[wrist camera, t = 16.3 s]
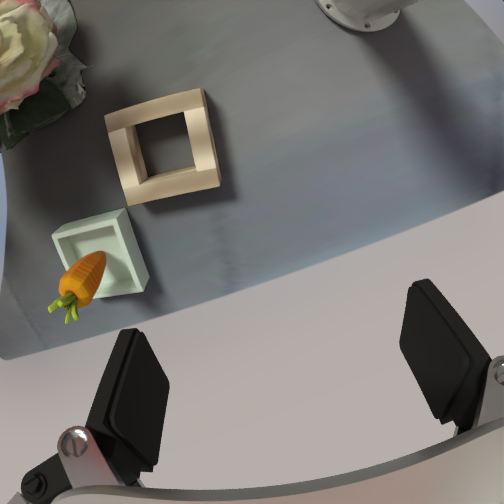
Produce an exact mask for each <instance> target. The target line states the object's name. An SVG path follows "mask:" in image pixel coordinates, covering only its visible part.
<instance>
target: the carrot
mask: <svg viewBox="0 0 504 504" xmlns="http://www.w3.org/2000/svg"><path fill="white" fill-rule="evenodd" d="M106 261H107V259H106V254H105V252H104V251H96V252H93V253H90V254H87V255H86V256H84V257H82V258H81V259H79V260H78V261H77V262H75V263H74V264H73V265H72V266H71V267H70V268H69V269H68V271H67V272H66V273H65V274H64V275H63V276H62V278H61V280H60V286H59V292H60V294H61V296H62V297H61V298H59V299H56V300H55V301H54V303H52V304H51V305H50V306H49V307H48V311H49V312H50V313H51V312H53V311H54V310H55V309H57V308H58V307H59V306H60V307H62V306H64V310H67V309H68V311H67V314H66V319H65V323H66V324H68V323H69V322H70V315H71V312H72V316H73V318H74V320H75V321H76V320H78V319H79V316H78V310H77V308H80V307H84V306H87V305H89V304H90V302H91V300H92V299H93V297H94V295H95V293H96V291H97V290H98V288H99V286H100V283H101V280H102V277H103V274H104V271H105V267H106ZM68 307H69V308H68Z"/></svg>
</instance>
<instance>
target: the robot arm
mask: <svg viewBox="0 0 504 504" xmlns="http://www.w3.org/2000/svg"><path fill="white" fill-rule="evenodd" d="M419 1H422V0H316V2H317V4H318V5H319V7H320V8H321V9H322V11H323V12H324V13H325V14H326V15H327V16H328V17H330V18H331V19H332V20H334V21H335V22H337V23H338V24H340V25H342V26H344V27H346V28H349V29H351V30H355V31H359V32H376V31H379V30H382V29H385V28H387V27H389V26H390V25H391V24H393V23H394V22H395V20H396V19H397V18H398V16H399V13H400V9H402V8H404V7H407V6H409V5H412V4H414V3H417V2H419ZM503 1H504V0H503ZM326 7H328V8H329V9H327V8H326ZM364 25H365V26H366V27H365V26H364ZM399 343H400V349H401V351H402V353H403V355H404V357H405V359H406V361H407V363H408V365H409V366H410V368H411V370H412V372H413V374H414V376H415V378H416V380H417V382H418V384H419V386H420V388H421V391H422V392H423V395H424V397H425V399H426V401H427V403H428V405H429V407H430V409H431V411H432V414H433V416H434V417H435V418H436V419H439V420H440V422H441V424H442V425H443V424H445V423H448V422H450V421H452V420H453V421H454V423H455V425H456V428H455V432H454V435H453V438H450V439H448V440H446V441H444V442H441V443H438V444H436V445H433V446H431V447H428V448H426V449H423V450H420V451H418V452H415V453H412V454H409V455H406V456H404V457H401V458H398V459H395V460H392V461H388V462H385V463H382V464H378V465H375V466H372V467H368V468H365V469H361V470H357V471H353V472H349V473H345V474H340V475H335V476H331V477H326V478H321V479H316V480H310V481H304V482H298V483H291V484H284V485H276V486H267V487H257V488H244V489H226V490H180V489H157V488H156V489H155V488H146V487H145V486H144V484H143V483H142V482H141V480H140V479H139V478H140V472H153V466H154V465H156V464H157V463H158V458H159V451H160V444H161V437H162V431H163V424H164V418H165V412H166V406H167V400H168V394H169V388H170V387H169V381H168V378H167V376H166V375H165V373H164V371H163V370H162V367H161V365H160V364H159V362H158V360H157V358H156V356H155V354H154V352H153V350H152V348H151V346H150V344H149V342H148V341H147V338H146V336H145V335H144V333H143V332H140V331H139V330H138V329H137V328H132V329H123V330H121V331H120V333H119V335H118V338H117V340H116V343H115V345H114V348H113V350H112V353H111V355H110V358H109V361H108V363H107V366H106V369H105V371H104V373H103V376H102V379H101V382H100V384H99V387H98V390H97V393H96V396H95V398H94V401H93V404H92V407H91V410H90V413H89V416H88V419H87V422H86V425H85V427H81V426H74V427H71V428H68V429H67V430H66V431H65V432H63V434H62V435H61V436H60V438H59V440H58V445H57V449H58V453H57V454H55V455H54V456H52V457H51V458H49V459H47V460H46V461H44V462H43V463H41V464H40V465H38V466H37V467H35V468H33V469H32V470H30V471H29V472H28V473H26V474H25V476H24V477H23V479H22V483H21V491H22V493H21V494H20V493H19V492H17V493H16V494H15V495H14V497H13V498H12V499H11V500H10V501H9V503H8V504H504V356H498V357H496V358H494V359H493V360H492V359H491V358H490V356H489V354H488V353H487V352H486V350H485V349H484V347H483V346H482V345H481V343H480V342H479V341H478V339H477V338H476V337H475V335H474V334H473V332H472V331H471V330H470V328H469V327H468V326H467V325H466V323H465V322H464V321H463V320H462V318H461V317H460V316H459V314H458V313H457V312H456V311H455V309H454V308H453V307H452V306H451V304H450V303H449V302H448V301H447V300H446V298H445V297H444V296H443V295H442V293H441V292H440V291H439V290H438V289H437V287H436V286H435V285H434V284H433V283H432V282H431V280H429V279H423V280H419V281H415V282H414V283H413V284H412V286H411V287H409V289H408V294H407V301H406V307H405V314H404V319H403V325H402V330H401V336H400V341H399Z"/></svg>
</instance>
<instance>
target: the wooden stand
mask: <svg viewBox="0 0 504 504" xmlns="http://www.w3.org/2000/svg"><path fill="white" fill-rule="evenodd" d="M180 112H184V115H185V119H186V124H187V129H188V133H189V138H190V143H191V147H192V152H193V156H194V161H195V165H196V166H193V167H189V168H184V169H180V170H175V171H171V172H166V173H162V174H158V175H154V176H150V177H148V175H147V172H146V168H145V164H144V160H143V156H142V152H141V148H140V144H139V140H138V135H137V131H136V127H135V125H136V124H139V123H143V122H146V121H150V120H153V119H157V118H161V117H164V116H168V115H172V114H176V113H180ZM104 118H105V123H106V127H107V131H108V135H109V139H110V143H111V147H112V151H113V155H114V159H115V163H116V166H117V170H118V174H119V177H120V181H121V184H122V188H123V191H124V194H125V198H126V201H127V204H128V206H131V205H135V204H139V203H143V202H148V201H152V200H156V199H161V198H165V197H170V196H174V195H179V194H184V193H189V192H194V191H198V190H203V189H209V188H214V187H219V186H220V183H221V179H222V178H221V173H220V168H219V163H218V158H217V153H216V148H215V143H214V138H213V134H212V129H211V124H210V119H209V113H208V108H207V103H206V98H205V93H204V89H201V88H198V89H193V90H189V91H185V92H181V93H177V94H173V95H169V96H165V97H162V98H158V99H154V100H151V101H147V102H144V103H141V104H137V105H134V106H131V107H128V108H125V109H122V110H119V111H116V112H113V113H110V114H107V115H104Z"/></svg>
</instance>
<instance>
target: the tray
mask: <svg viewBox="0 0 504 504" xmlns="http://www.w3.org/2000/svg"><path fill="white" fill-rule="evenodd" d="M51 236H52V238H53V241H54V243H55V246H56V248H57V250H58V253H59V255H60V257H61V260H62V262H63V264H64V266H65V269H66V271H68V269H69V268H70V267H71V266H72V265H73V264H74V263H75V262H77V261H78V260H79V259H81V258H82V257H84V256H86V255H87V254H90V253H93V252H96V251H104V252H105V254H106V259H107V261H106V267H105V271H104V274H103V277H102V280H101V283H100V286H99V288H98V290H97V291H96V293H95V295H94V297H93V299H94V298H102V297H109V296H116V295H123V294H130V293H137V292H143V291H144V289H145V287H146V284H147V282H148V280H149V277H150V276H149V274H148V271H147V268H146V266H145V263H144V260H143V257H142V255H141V252H140V249H139V246H138V243H137V240H136V238H135V235H134V232H133V229H132V226H131V223H130V219H129V216H128V213H127V210H126V208H122V209H118V210H114V211H110V212H107V213H103V214H99V215H95V216H91V217H87V218H84V219H80V220H76V221H73V222H69V223H66V224H63V225H62V226H61V227H60V228H59V229H57V230H56V231H55V232H54V233H53V234H52V235H51Z"/></svg>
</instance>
